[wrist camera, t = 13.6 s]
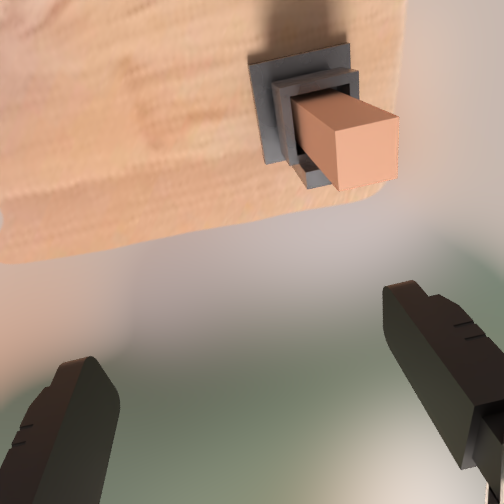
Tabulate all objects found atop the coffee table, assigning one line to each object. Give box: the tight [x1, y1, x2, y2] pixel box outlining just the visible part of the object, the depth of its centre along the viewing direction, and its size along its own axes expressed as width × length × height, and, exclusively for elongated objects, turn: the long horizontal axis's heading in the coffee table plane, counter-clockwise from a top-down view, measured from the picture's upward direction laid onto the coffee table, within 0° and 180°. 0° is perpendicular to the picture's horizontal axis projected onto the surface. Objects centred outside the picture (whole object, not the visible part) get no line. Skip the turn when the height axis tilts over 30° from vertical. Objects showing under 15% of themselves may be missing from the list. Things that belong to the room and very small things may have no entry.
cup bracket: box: [248, 43, 359, 189], centre depth 34 cm, size 10×10×10 cm
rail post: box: [290, 88, 399, 191], centre depth 29 cm, size 4×4×14 cm
